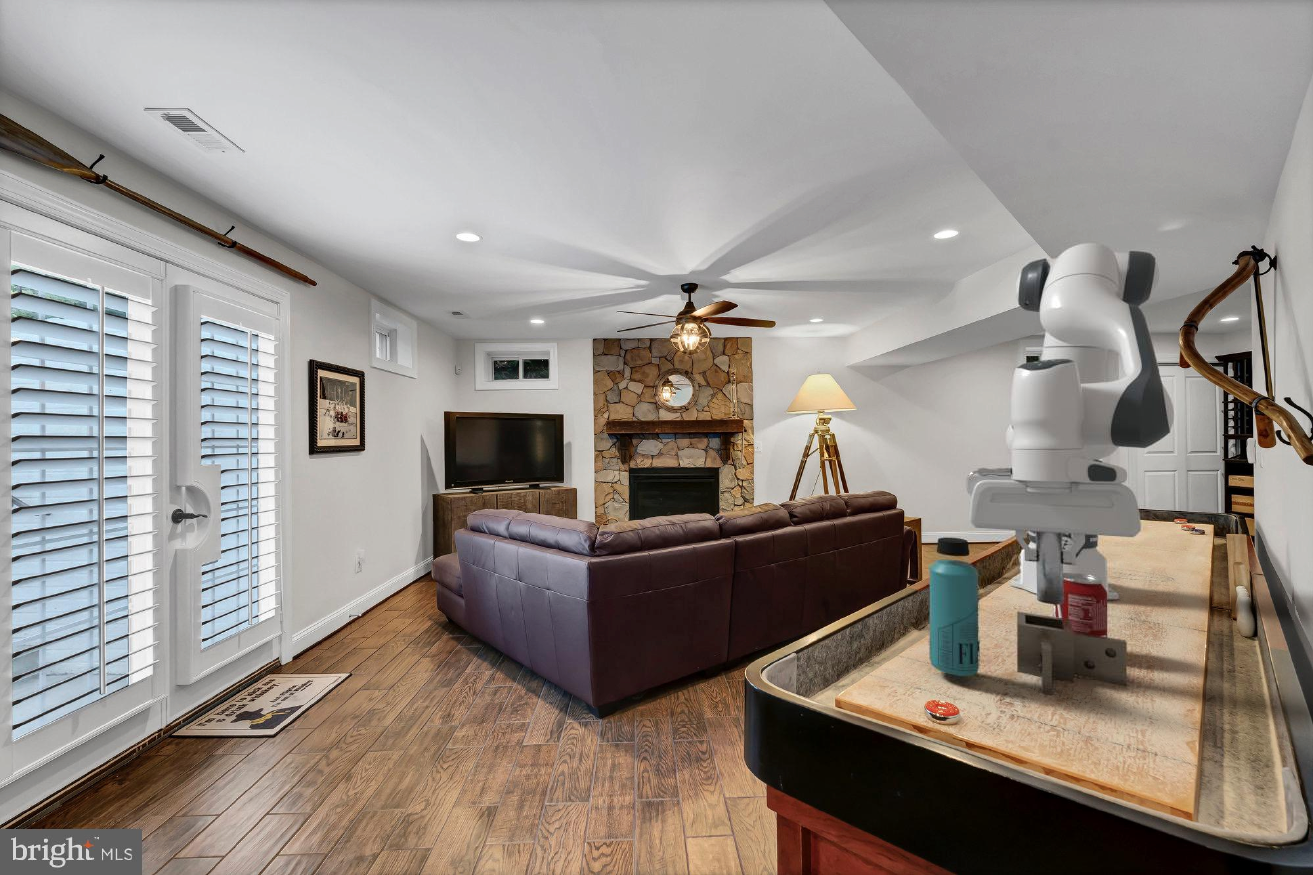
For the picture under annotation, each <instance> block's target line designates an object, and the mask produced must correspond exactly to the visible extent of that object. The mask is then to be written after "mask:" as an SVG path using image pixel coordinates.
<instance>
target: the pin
mask: <svg viewBox="0 0 1313 875" xmlns="http://www.w3.org/2000/svg"><path fill="white" fill-rule="evenodd" d="M1036 550H1037V555H1036V557H1037V562H1036V570H1037V594H1036V600H1037V601H1038V602H1040V603H1042V604H1043V603H1044V604H1048V605H1053V604H1055V605H1060V604H1064V582H1063V541H1062V533H1054V532H1037V531H1036Z"/></svg>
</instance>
